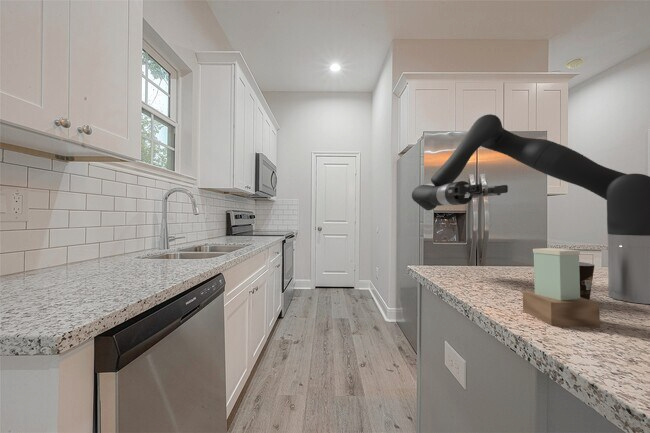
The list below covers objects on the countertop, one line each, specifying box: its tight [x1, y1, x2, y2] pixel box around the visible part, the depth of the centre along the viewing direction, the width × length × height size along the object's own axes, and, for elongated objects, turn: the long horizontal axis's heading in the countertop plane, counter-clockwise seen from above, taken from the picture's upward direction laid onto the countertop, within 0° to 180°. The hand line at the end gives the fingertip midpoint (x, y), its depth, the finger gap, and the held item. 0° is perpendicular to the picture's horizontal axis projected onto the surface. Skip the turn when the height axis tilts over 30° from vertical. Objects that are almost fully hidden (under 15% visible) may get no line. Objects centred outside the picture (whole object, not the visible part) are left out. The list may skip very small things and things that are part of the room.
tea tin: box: [532, 247, 581, 301], centre depth 60 cm, size 6×6×10 cm
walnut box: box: [522, 290, 601, 328], centre depth 59 cm, size 9×9×5 cm
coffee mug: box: [579, 261, 595, 300], centre depth 72 cm, size 12×9×10 cm
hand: (493, 188), depth 76 cm, fingers open, 8 cm apart
